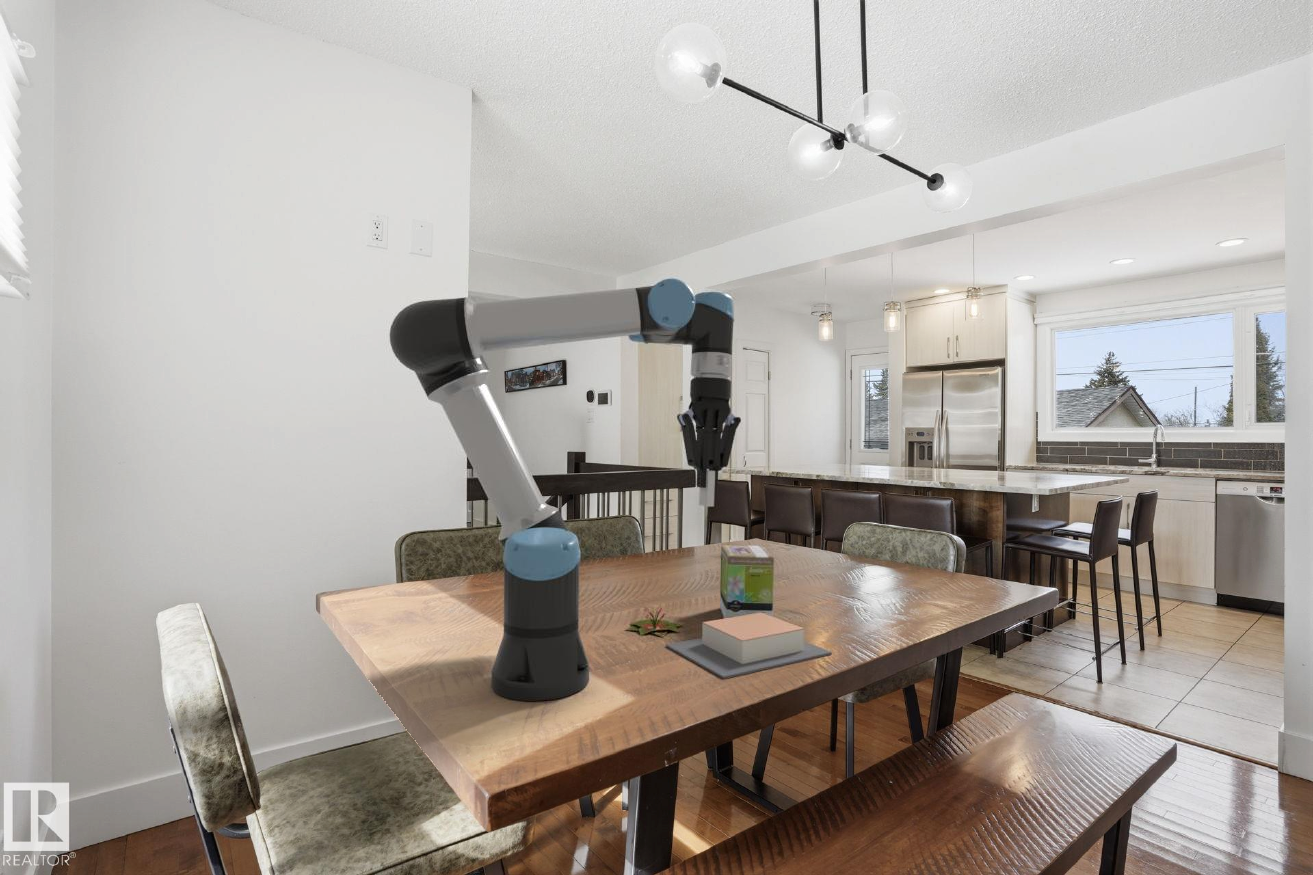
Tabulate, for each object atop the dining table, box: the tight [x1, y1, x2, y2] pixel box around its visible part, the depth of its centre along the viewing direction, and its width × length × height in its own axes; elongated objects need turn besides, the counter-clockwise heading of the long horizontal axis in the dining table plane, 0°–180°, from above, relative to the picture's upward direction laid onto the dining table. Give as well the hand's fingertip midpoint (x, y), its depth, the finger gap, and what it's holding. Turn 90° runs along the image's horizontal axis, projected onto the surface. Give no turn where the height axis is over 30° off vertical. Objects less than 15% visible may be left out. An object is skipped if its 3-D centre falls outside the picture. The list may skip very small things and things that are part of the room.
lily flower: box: [624, 607, 683, 638], centre depth 126 cm, size 12×12×5 cm
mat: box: [665, 637, 833, 680], centre depth 113 cm, size 24×18×1 cm
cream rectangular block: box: [701, 613, 805, 664], centre depth 114 cm, size 4×12×14 cm
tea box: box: [719, 544, 775, 619], centre depth 135 cm, size 15×10×15 cm
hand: (706, 505), depth 115 cm, fingers closed
